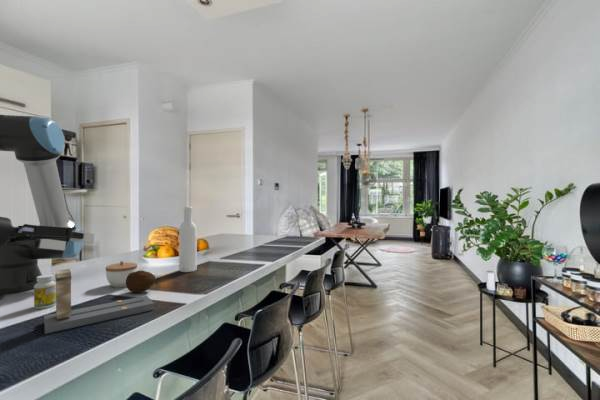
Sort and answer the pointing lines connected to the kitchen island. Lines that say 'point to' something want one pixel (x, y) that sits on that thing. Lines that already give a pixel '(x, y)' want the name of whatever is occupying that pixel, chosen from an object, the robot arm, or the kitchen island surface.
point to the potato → (140, 281)
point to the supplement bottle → (44, 292)
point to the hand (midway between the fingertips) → (78, 242)
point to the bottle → (187, 243)
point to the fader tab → (63, 293)
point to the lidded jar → (119, 273)
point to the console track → (98, 313)
